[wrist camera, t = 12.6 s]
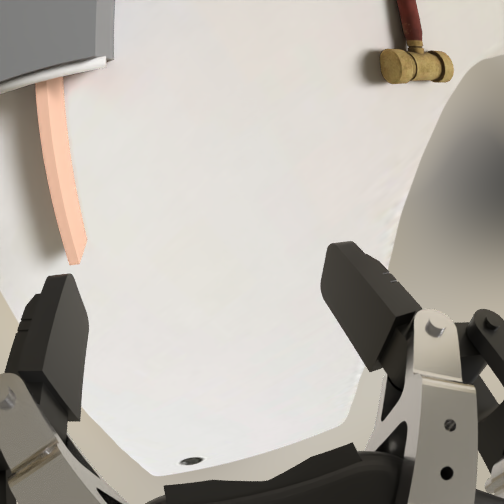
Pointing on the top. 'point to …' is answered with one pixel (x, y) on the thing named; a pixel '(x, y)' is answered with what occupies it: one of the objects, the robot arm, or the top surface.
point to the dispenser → (53, 39)
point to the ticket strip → (60, 166)
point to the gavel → (414, 54)
